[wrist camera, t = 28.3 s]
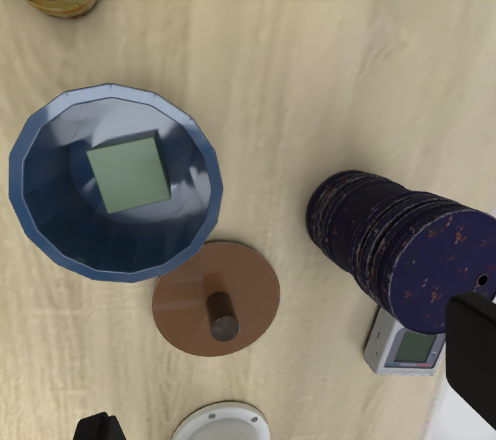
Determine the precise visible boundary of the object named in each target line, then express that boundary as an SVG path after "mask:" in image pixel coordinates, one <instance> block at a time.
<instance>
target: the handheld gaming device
mask: <svg viewBox="0 0 496 440" xmlns="http://www.w3.org/2000/svg"><path fill="white" fill-rule="evenodd" d="M445 348H446V339H445V334H441V335H430V336H426V335H420V334H416V333H414V332H411V331H409V330H408V329H406V328H404V327H403V326H402V325H401V324H400V323H399V322H398V321H397V320H396V319H395V318H394V317H393V316H392V315H391V314H389V313H388V312H387V311H386V310H384V309H382V308H381V307H380V310H379V313H378V316H377V319H376V321H375V324H374V327H373V330H372V332H371V335H370V338H369V341H368V344H367V346H366V349H365V352H364V360H365V361H366V363H367V364H368V365H369V367H370V368H371V369H372V371H373V372H374V373H375V374H376V375H417V376H433V375H434V374H435V371H436V369H437V367H438V365H439V362H440V360H441V358H442V355H443V353H444V351H445Z"/></svg>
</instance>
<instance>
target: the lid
mask: <svg viewBox="0 0 496 440" xmlns="http://www.w3.org/2000/svg"><path fill="white" fill-rule="evenodd" d="M279 302H280V286H279V282H278V278H277V276H276V274H275V272H274V270H273V268H272V267H271V265H270V264H269V262H268V261H267V260H266V259H265V258H264V257H263V256H262V255H261V254H259V253H258V252H256V251H255V250H253V249H251V248H249V247H247V246H245V245H241V244H238V243H233V242H211V243H206V244H203V246H202V247H201V249H200V250H199V252H197V254H195V255H194V256H192V257H191V258H190V259H188V260H187V261H185V262H184V263H183V264H181V265H180V266H178V267H177V268H175V269H174V270H173V271H171V272H170V273H168V274H164V275H161V276H160V277H159V279H158V281H157V284H156V286H155V289H154V294H153V302H152V310H153V317H154V320H155V323H156V326H157V328H158V330H159V331H160V333H161V334H162V335H163V337H164V338H165V339H166V340H167V341H168V342H169V343H170V344H172V345H173V346H174V347H176V348H178V349H179V350H182V351H184V352H186V353H189V354H192V355H197V356H205V357H215V356H223V355H227V354H231V353H234V352H237V351H239V350H241V349H243V348H245V347H247V346H249V345H250V344H252V343H253V342H255V341H256V340H257V339H258V338H260V337H261V336H262V335H263V334H264V333H265V331H266V330H267V329H268V328H269V326H270V325H271V323H272V321H273V320H274V318H275V315H276V313H277V310H278V307H279Z"/></svg>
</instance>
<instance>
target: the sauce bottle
mask: <svg viewBox="0 0 496 440" xmlns="http://www.w3.org/2000/svg"><path fill="white" fill-rule="evenodd" d="M26 1H27V2H28V3H29V4H31V5H32V6H34V7H35V8H37V9H38V10H40V11H42V12H44V13H46V14H49V15H50V16H53V17H58V18H73V19H74V18H77V17H79V16H85V15H86V13H88V12H89V11H90V10H91V9H92V8H93V7H94V6H95V4H96V3H97V1H98V0H26Z"/></svg>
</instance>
